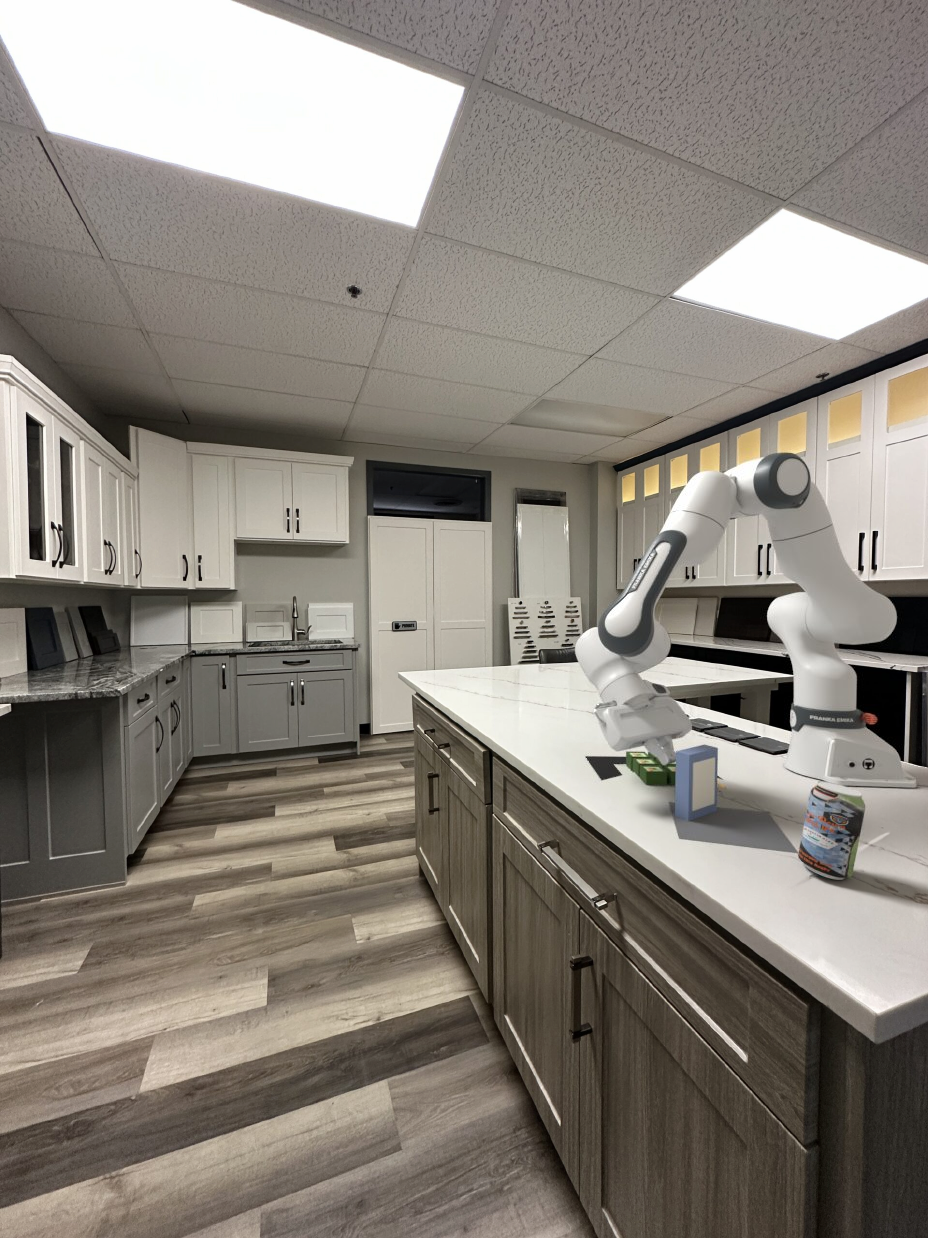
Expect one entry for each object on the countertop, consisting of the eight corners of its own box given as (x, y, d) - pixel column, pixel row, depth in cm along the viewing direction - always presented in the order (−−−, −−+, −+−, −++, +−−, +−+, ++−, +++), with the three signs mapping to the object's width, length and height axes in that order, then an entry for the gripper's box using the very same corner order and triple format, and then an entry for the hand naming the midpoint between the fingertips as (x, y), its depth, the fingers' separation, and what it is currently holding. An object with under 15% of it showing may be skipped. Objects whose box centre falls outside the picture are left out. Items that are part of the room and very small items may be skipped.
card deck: (675, 815, 86) (675, 751, 86) (703, 805, 90) (704, 744, 90) (689, 821, 84) (690, 755, 84) (717, 811, 88) (718, 748, 88)
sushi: (748, 802, 95) (748, 782, 95) (613, 800, 96) (613, 780, 96) (692, 761, 120) (692, 745, 120) (585, 759, 121) (585, 744, 121)
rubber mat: (768, 814, 88) (768, 812, 88) (798, 855, 73) (798, 853, 73) (668, 804, 92) (668, 802, 92) (678, 841, 78) (679, 838, 78)
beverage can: (787, 862, 71) (789, 778, 71) (836, 860, 72) (838, 776, 72) (822, 887, 65) (824, 794, 65) (875, 885, 66) (878, 793, 65)
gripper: (599, 694, 92) (643, 762, 84) (671, 685, 103) (716, 744, 95) (581, 714, 96) (621, 781, 88) (652, 703, 107) (694, 762, 99)
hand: (671, 762), depth 91 cm, fingers closed
